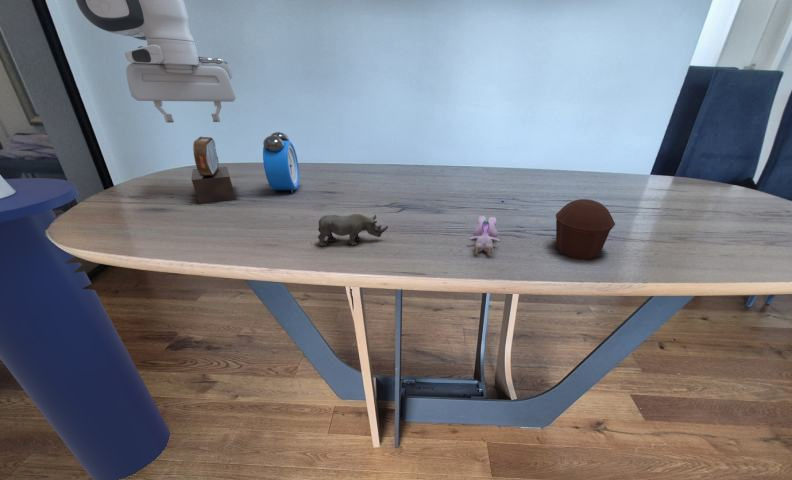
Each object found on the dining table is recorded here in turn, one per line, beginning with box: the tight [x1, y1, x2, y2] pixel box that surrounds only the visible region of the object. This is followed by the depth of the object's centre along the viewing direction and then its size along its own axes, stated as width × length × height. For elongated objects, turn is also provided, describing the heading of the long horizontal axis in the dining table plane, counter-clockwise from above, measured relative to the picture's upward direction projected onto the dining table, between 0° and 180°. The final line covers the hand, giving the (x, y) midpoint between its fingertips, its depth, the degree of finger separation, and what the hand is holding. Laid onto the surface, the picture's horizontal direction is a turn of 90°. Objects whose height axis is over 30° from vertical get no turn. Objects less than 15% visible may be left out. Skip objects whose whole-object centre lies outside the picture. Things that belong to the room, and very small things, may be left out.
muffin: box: [555, 198, 616, 260], centre depth 73 cm, size 12×11×10 cm
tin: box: [192, 136, 220, 176], centre depth 93 cm, size 15×3×8 cm, turn 22°
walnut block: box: [191, 166, 237, 205], centre depth 97 cm, size 8×12×6 cm, turn 31°
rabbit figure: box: [468, 215, 501, 256], centre depth 76 cm, size 6×6×15 cm
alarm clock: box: [262, 131, 300, 194], centre depth 101 cm, size 13×6×15 cm, turn 11°
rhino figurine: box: [317, 213, 389, 247], centre depth 74 cm, size 4×14×6 cm, turn 101°
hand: (194, 122), depth 89 cm, fingers open, 8 cm apart
